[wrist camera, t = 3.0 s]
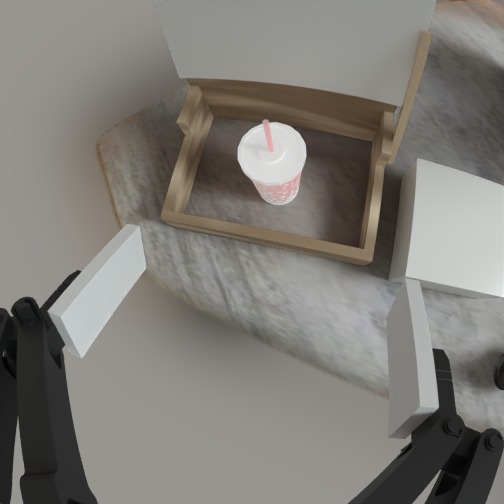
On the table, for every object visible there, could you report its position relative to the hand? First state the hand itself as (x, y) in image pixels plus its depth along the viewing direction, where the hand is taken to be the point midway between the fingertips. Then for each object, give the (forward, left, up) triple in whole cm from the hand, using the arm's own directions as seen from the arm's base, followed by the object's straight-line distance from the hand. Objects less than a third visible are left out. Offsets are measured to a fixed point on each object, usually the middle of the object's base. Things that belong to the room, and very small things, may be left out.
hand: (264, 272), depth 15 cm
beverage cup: (-11, -3, -20) cm, 23 cm away
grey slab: (-9, +17, -20) cm, 28 cm away
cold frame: (-12, -3, -20) cm, 23 cm away
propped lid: (-19, -3, -16) cm, 24 cm away
